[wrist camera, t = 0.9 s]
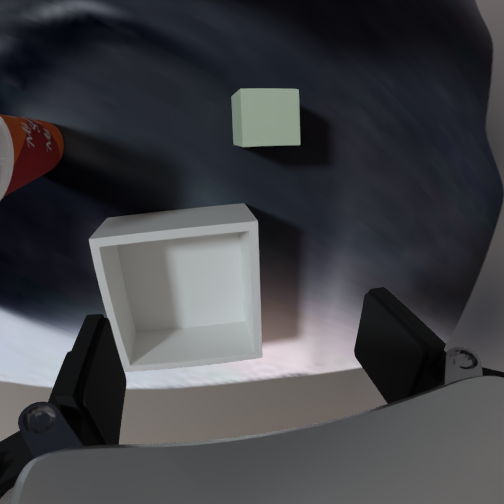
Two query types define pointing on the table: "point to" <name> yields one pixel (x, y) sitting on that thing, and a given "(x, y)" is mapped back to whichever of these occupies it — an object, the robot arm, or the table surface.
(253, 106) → the green block
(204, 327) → the bin
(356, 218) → the table surface
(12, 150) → the paper cup
